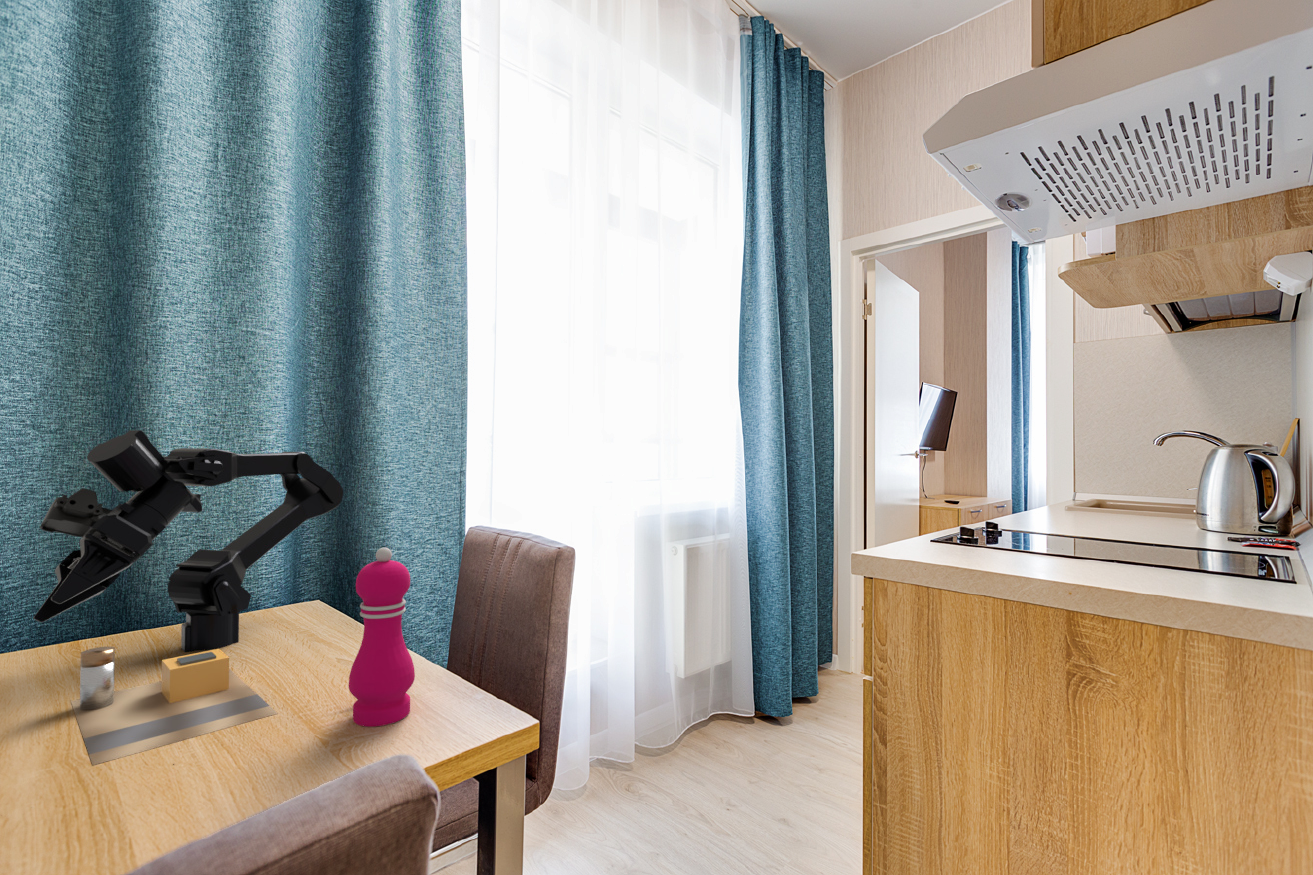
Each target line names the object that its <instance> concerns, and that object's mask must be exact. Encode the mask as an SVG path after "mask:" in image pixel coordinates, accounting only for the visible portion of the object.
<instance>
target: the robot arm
mask: <svg viewBox="0 0 1313 875" xmlns="http://www.w3.org/2000/svg"><path fill="white" fill-rule="evenodd" d="M86 459H87V461H89V463H90V464H91V465H93V467H94V468H95V469H96V470H98V472H99V473H101V475H102V476H103V477H104V478H105V479H107V481H108V482H109V483H111V485H113V487H114V488H115V489H116V490H117V491H119V492H122V493H123V492H126V493H127V492H133V493H135V492H136V493H135V494H134V495H132V496H131V497H130V498H129V499H128V500H127V501H126V502H123V503H119V504H118V505H117V506H115V507H114V508H113V509H110V508H107V507H103V504H102V503H99V502H98V496H97V491H95V490H93V489H87V488H83V487H82V488H80V489H79V490H78V491H76V492H74V493H73V494H71V495H70V496H68V495H67V494H63V495H62V496H58V497H56V498H55V499H54V501H53V502H52V503H51V505H50V507H49V509H48V511H47V512H46V514H45V516H44V518H43V520H42V522H41V524H40V526H39V529H40V530H42V531H43V532H47V533H59V534H64V535H69V536H74V537H77V538H78V537H79V538H80V540H79V547H80V549H76V550H73V551H71V552H70V553H69V554H68V555H67V556H65V558H64V559H63V560H62V561H60V563H59V564H58V565H57V566H56V568H55V570H54V574H55V575H56V578H57V584H56V585H55V587H54V589H53V590H52V592H51V593H50V594H49V596H48V597H47V598H46V599H45V601H44V603H43V604H42V605H41V607H40V608H39V610H37V612H36V613H35V614H34V616H33V620H35V621H37V622H39V623H44V622H46V621H48V620H50V619H53V618H54V617H56V616H58V615H60V614H62V613H63V612H66V611H68V610H70V609H72V608H74V607H76V606H78V605H80V604H81V603H84V602H86V601H88V600H90V599H93V598H94V597H96V596H99V595H101V594H102V593H104V592H105V591H106V590H107V589H108V588H109V587H110V586H111V585H112V584H113V583H114V582H115V581H116V580H117V579H118V578H119V577H120V573H121V572H123V571H125V570H127V569H128V568H130V567H131V566H132V565H133V564H134V563H136V562H137V561H138V560H139V559H140V558H141V557H142V556H143V555H144V554H145V553H146V552H147V551H148V550H149V549H150V548H151V547H152V546H153V544H154V543H153V541H154V540H155V539H156V538H157V537H158V535H161V533H162V532H163V531H164V530H165V529H166V528H167V526H169V525H170V523H171V522H172V521H173V520H174V519H175V518H177V517H178V516H179V514H181V513H182V512H183V513H202V511H203V504H202V502H201V501H202V500H201V496H202V495H201V494H200V493H193V492H192V491H191V490H190V488H188V487H216V486H219V485H222V484H226V483H230V482H232V481H234V480H235V479H238V478H243V477H254V476H256V477H257V476H272V475H280V476H281V482H282V487H283V489H284V490H285V491H286V493H285V496H284V501H283V503H282V504H280V505H278V507H276V508H275V509H274V510H272V511H271V512H270V513H268V514H267V515H266V516H265V517H263V518H262V519H261V520H259V521H258V522H257V523H255V524H254V525H252V526H251V527H250V528H249V529H247V530H246V531H245V532H243V533H242V534H240V536H238V537H236V538H235V539H234V540H233V541H231V542H230V543H229V544H227V545H226V546H224V547H223V548H222V549H221V550H217V549H216V550H215V549H198V550H196V551H195V552H194V553H193V554H192V555H190V556H189V557H188V558H187V559H186V560H183V562H180V563H177V564H175V565H176V567H177V569H175V570H174V571H173V572H172V573H171V574H170V575H169V577H168V584H167V594H168V597H169V599H170V600H172V602H173V604H174V607H175V610H176V612H177V613H179V614H181V613H186V615H185V622H183V623H181V635H180V636H181V640H180V641H181V643H180V644H181V645H180V647H181V650H182V651H183V652H184V653H189V652H190V653H192V652H199V651H200V652H205V651H210V650H215V649H223V648H226V647H228V646H232V645H233V644H237V643H239V641H240V640H239V637H240V613H241V612H242V611H245V610H247V609H248V608H249V605H250V602H251V599H252V594H251V593H250V592H249V591H248V590H246V589H245V588H244V587H243V586H242V584H243V583H244V579H245V575H246V573H247V570H248V569H249V568H250V567H252V566H253V564H255V563H256V562H257V561H259V560H260V559H261V558H263V556H265V555H266V554H267V553H268V552H270V551H271V550H272V549H273V548H275V546H277V545H278V544H279V543H280V542H282V541H283V540H284V539H285V538H287V537H288V536H289V535H290V534H292V533H293V532H294V531H296V529H298V528H299V527H301V525H302V524H303V523H305V522H306V521H308V520H311V519H313V518H316V517H319V516H323V515H325V514H327V513H329V512H330V511H333V510H334V509H336V508H337V507H339V506H340V504H341V503H342V501H343V497H344V490H343V487H342V485H341V483H340V482H339V481H338V480H337V479H336V478H335V476H334V475H333V474H332V473H331V472H330V471H328V470H327V469H325V468H324V467H322V465H320V464H318V463H316V462H315V460H314V459H313V458H312V457H311V455H309V454H308V453H306V452H304V451H282V452H276V453H275V452H274V453H273V452H272V453H270V452H269V453H236V452H232V451H229V450H224V449H223V450H222V449H218V448H206V447H205V448H202V447H201V448H196V447H195V448H193V447H191V448H189V447H187V448H186V447H185V448H184V447H180V448H176V449H175V448H174V449H172V450H171V451H170V452H169V454H168V455H167V456H166V455H165V456H163V454H161V452H160V451H159V450H158V449H157V448H156V447H155V446H154V444H153V443H152V442H151V441H150V439H149V437H148V435H147V434H146V433H144V431H143V430H140V429H139V430H133V429H132V430H128V431H126V432H125V434H123V435H118V436H115V437H113V438H111V439H108V440H106V441H105V442H103V443H99V444H97V445H96V446H95V447H93V448H92V449H91V450H90V451H89V453H87V457H86ZM301 477H302V478H301Z"/></svg>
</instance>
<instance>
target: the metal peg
mask: <svg viewBox="0 0 1313 875" xmlns="http://www.w3.org/2000/svg"><path fill="white" fill-rule="evenodd" d="M115 648H116V647H115V646H114V647H113V646H99V647H94V648H90V649H89V648H88V649H86V650H84V651H81V652H80V672H79V675H80V676H79V677H80V678H79V679H80V680H79V682H80V683H79V699H80V710H82V711H90V710H97V709H101V708H104V707H107V706H109V705H111V704H113V703H114V691H115V655H116V654H115Z"/></svg>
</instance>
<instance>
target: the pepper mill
mask: <svg viewBox="0 0 1313 875" xmlns="http://www.w3.org/2000/svg"><path fill="white" fill-rule="evenodd" d="M392 556H393V553H392V550H391V549H390V548H388V547H385V546H384V547H380V548H379V549H377V551H376V553H375V558H376V561H372V562H370V563H368V564H366V565H365V566H364V567H362V568H361V570H360V571H359V572H358V574H357V576H356V580H355V591H356V594H357V595H358V596H359V598H361V600H362V602H361V603H360V604H359V608H360V612H359V616H360V617H362V618H363V627H364V628H363V636H362V640H361V645H360V647H359V649H358V651H357V654H356V657H355V659H354V662H352V665H351V669H350V672H349V676H348V690H349V692H350V694H351V695H352V696H353V697H354V698H355V699H356V700H355V702H354V703H353V705H352V720H353V722H354V723H355V724H356V725H358V726H362V727H369V728H371V727H373V728H374V727H382V726H387V725H391V724H395V723H398V722H400V721H401V720H403V719H404V718H406V717H408V715H409V714H410V712H411V696H410V694H409V693H407V692H408V690H410V688H411V687H412V686H413V684H414V682H415V674H416V673H415V665H414V662H413V659H412V656H411V654H410V652H409V650H408V648H407V646H406V643H405V639H404V636H403V629H402V621H403V620H402V619H403V618H402V617H403V614H404V613H405V612H406V609H407V608H406V603H407V601H406V599H404V596H405V595H406V594H407V592H408V591H409V589H410V587H411V575H410V571H409V570H408V568H407V567H406V566H405V565H404V564H403V563H401V562H399V561H397V560H391V559H392Z"/></svg>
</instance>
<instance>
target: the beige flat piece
mask: <svg viewBox="0 0 1313 875" xmlns="http://www.w3.org/2000/svg"><path fill="white" fill-rule="evenodd" d="M70 703H71V707H72V709H73V712H74V715H75V718H76V721H77V724H78V727H79V730H80V733H81V735H82V739H83V741H84V745H85V748H86V750H87V754H88V756H89V759H90V762H91V766H96V765H100V764H104V763H107V762H110V761H114V760H117V759H122V758H124V757H125V758H126V757H129V756H132V755H136V754H138V753H139V754H140V753H142V752H147V751H150V750H153V749H157V748H161V747H165V746H168V745H171V744H175V743H178V742H182V741H186V740H190V739H193V738H195V737H196V738H197V737H199V736H203V735H204V736H205V735H207V734H211V733H215V732H218V731H221V730H225V729H229V728H232V727H235V726H240V725H243V724H246V723H249V722H253V721H257V720H261V719H264V718H268V717H271V716H274V715H278V714H279V713H278V712H277V711H276V709H274V708H273V707H272V706H271V705H270V704H269V703H268V702H266V701H265V700H264V698H262V696H260V695H259V694H258V693H257V692H256V691H255V690H253V689H252V688H251V687H250V686H249V685H248V684H247V683H246V682H245V681H243V679H241V678H240V676H239V675H237V674H236V673H235V672H234V671H233V670H232V669H231V668H229V689H227V690H223V691H218V692H214V693H210V694H206V695H202V696H198V697H194V698H190V699H185V700H181V701H177V702H173V703H169V702H168V700H167V699H166V698H165V696H164V695H163V693H162V680H160V681H156V682H151V683H150V682H149V683H147V684H142V685H137V686H133V687H129V688H124V689H123V688H122V689H119V690H114V703H113V704H111V705H109V706H107V707H104V708H101V709H97V710H90V711H82V710H80V698H78V699H74V700H70Z"/></svg>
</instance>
